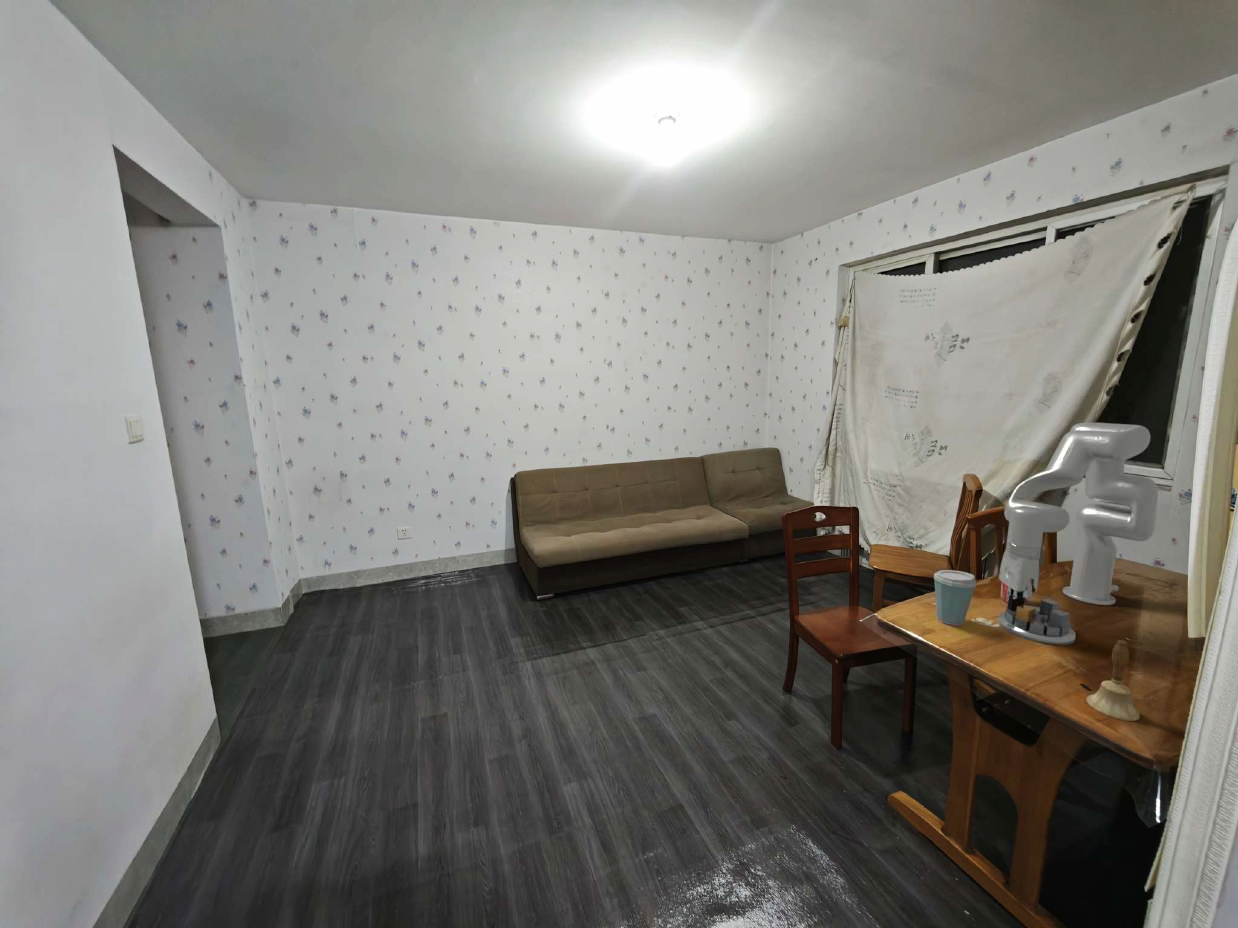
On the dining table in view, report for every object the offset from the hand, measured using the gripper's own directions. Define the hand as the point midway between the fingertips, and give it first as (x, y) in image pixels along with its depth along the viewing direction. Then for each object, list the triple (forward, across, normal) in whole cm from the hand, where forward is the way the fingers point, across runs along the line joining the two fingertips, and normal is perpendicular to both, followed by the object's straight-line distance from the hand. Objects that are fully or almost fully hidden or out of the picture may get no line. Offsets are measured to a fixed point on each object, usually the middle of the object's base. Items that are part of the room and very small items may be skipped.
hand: (1015, 609), depth 141 cm
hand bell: (+6, +36, 0) cm, 37 cm away
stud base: (+6, 0, +5) cm, 8 cm away
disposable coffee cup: (+6, -2, -16) cm, 17 cm away
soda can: (+6, -19, +10) cm, 22 cm away
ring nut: (+4, 0, +5) cm, 7 cm away
